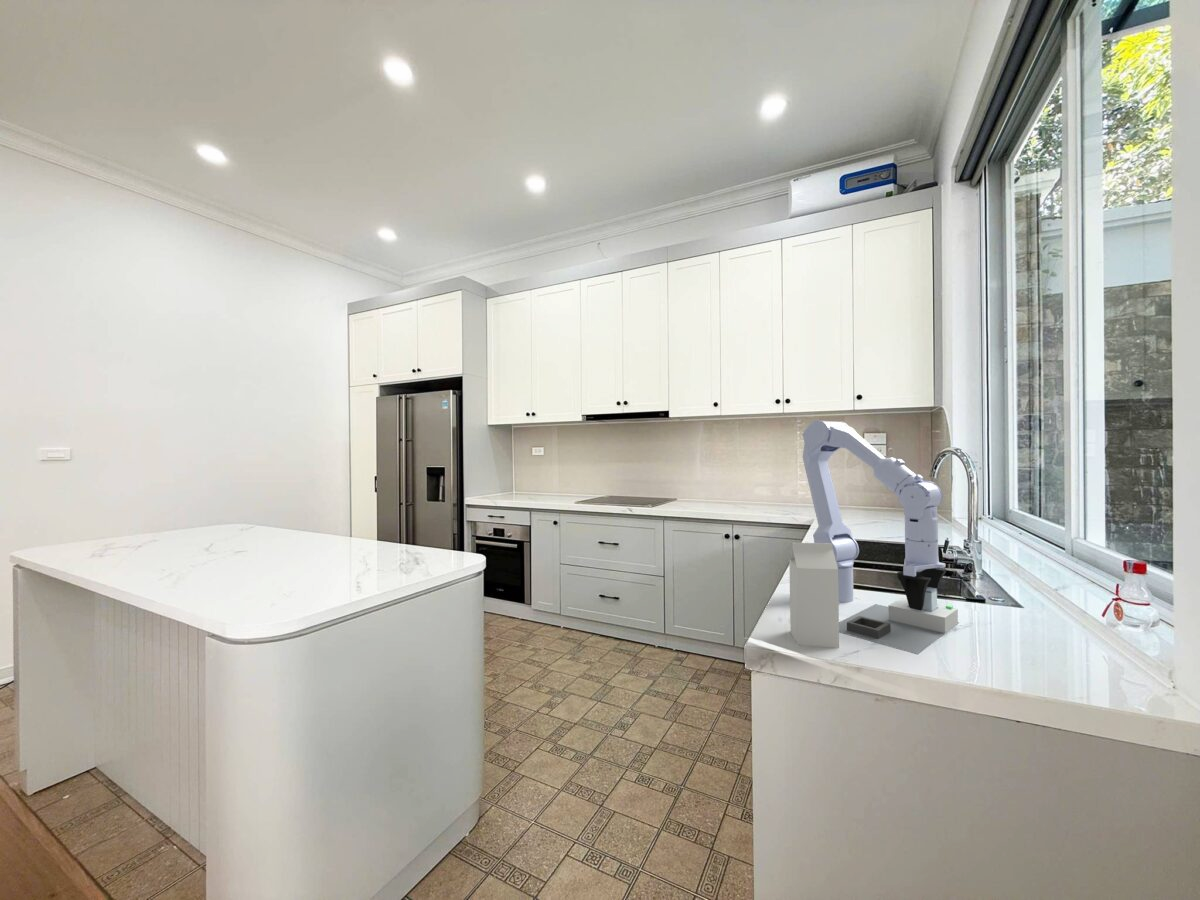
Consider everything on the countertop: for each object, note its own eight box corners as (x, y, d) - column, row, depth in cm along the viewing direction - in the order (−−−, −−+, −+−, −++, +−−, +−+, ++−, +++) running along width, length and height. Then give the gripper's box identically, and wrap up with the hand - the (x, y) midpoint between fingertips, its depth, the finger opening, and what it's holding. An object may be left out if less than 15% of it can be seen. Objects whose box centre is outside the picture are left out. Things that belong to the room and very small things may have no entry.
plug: (914, 621, 98) (913, 588, 98) (919, 618, 100) (918, 585, 100) (932, 626, 96) (931, 591, 96) (937, 622, 98) (936, 588, 98)
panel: (826, 632, 95) (825, 611, 95) (875, 607, 110) (875, 588, 110) (917, 658, 82) (917, 634, 82) (959, 626, 97) (959, 605, 97)
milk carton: (839, 652, 86) (837, 547, 86) (797, 649, 87) (796, 546, 87) (828, 637, 92) (827, 540, 93) (790, 634, 94) (788, 539, 94)
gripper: (931, 547, 91) (933, 617, 91) (955, 538, 100) (956, 602, 100) (891, 542, 96) (892, 608, 96) (916, 534, 105) (918, 595, 105)
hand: (922, 605), depth 98 cm, fingers open, 7 cm apart
